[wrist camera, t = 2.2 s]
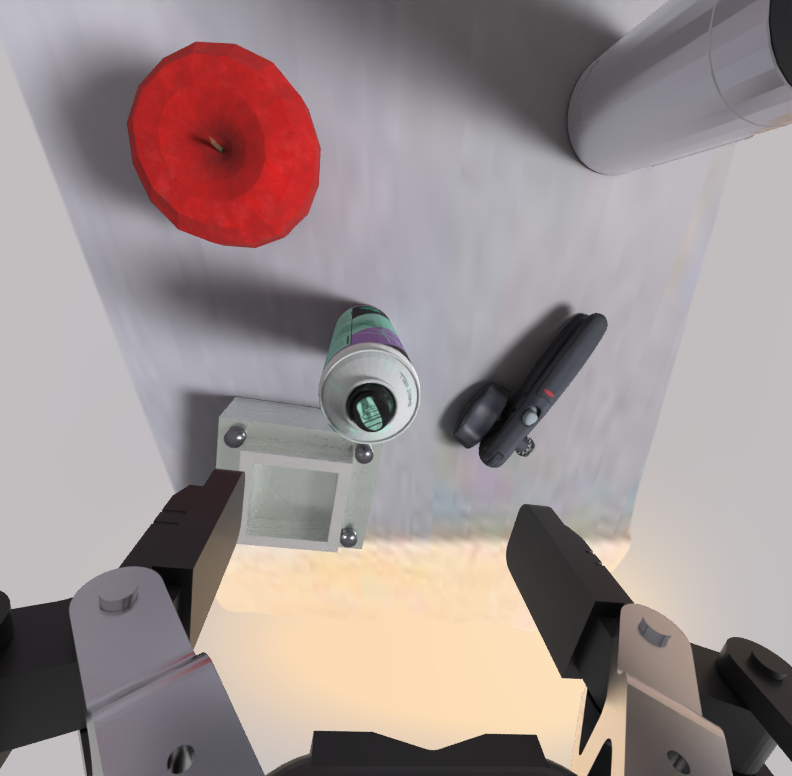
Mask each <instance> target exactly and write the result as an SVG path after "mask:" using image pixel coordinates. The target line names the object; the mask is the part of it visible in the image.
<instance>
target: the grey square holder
mask: <svg viewBox="0 0 792 776" xmlns="http://www.w3.org/2000/svg"><path fill="white" fill-rule="evenodd" d="M382 445H383V442H382V443H378V444H360V443H356V442H352V441H350V440H347V439H345V438H343V437H342V436H340V435H339V434H337V433H336V432H335V431H334V430H333V429H332V428H331V427H330V426H329V425H328V423H327V422H326V420H325V418H324V416H323V414H322V411H321V408H313V407H306V406H299V405H292V404H285V403H278V402H271V401H263V400H256V399H249V398H242V397H235V398H234V400H233V401H232V402H231V403H230V404H229V406H228V407H227V408H226V409H225V410H224V412H223V413H222V414H221V415H220V416H219V425H218V441H217V458H216V468H217V469H226V470H235V471H244V472H245V488H244V499H243V510H242V521H241V527H240V532H239V536H238V540H237V543H236V544H246V545H258V546H269V547H281V548H292V549H304V550H315V551H327V552H337V551H338V547H344V548H356V549H362V545H363V540H364V535H365V530H366V525H367V520H368V515H369V510H370V505H371V500H372V495H373V490H374V485H375V480H376V475H377V470H378V465H379V460H380V455H381V450H382Z"/></svg>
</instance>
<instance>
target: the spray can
mask: <svg viewBox="0 0 792 776" xmlns="http://www.w3.org/2000/svg"><path fill="white" fill-rule="evenodd" d="M318 394H319V401H320V408H321V411H322V414H323V416H324V418H325V420H326V422H327V423H328V425H329V426H330V427H331V428H332V429H333V430H334V431H335V432H336V433H337V434H339V435H340V436H342V437H343V438H345V439H347V440H350V441H352V442H356V443H360V444H378V443H382V442H386V441H389V440H391V439H393V438H395V437H397V436H398V435H400V434H401V433H403V432H404V431H405V430H406V429H407V428H408V427H409V426H410V425H411V423H412V422H413V420H414V418H415V417H416V414H417V412H418V409H419V405H420V399H421V398H420V383H419V379H418V376H417V373H416V371H415V369H414V367H413V365H412V363H411V361H410V359H409V358H408V356H407V354H406V352H405V350H404V348H403V346H402V344H401V342H400V340H399V338H398V336H397V334H396V332H395V330H394V328H393V326H392V324H391V322H390V320H389V318H388V317H387V316H386V315H385V314H384V313H383V312H382V311H381V310H379V309H377V308H376V307H373V306H370V305H357V306H354V307H351V308H349V309H348V310H346V311H345V312H344V313H343V314H342V315H341V316H340V317H339V319H338V321H337V323H336V326H335V329H334V333H333V336H332V340H331V343H330V347H329V351H328V354H327V358H326V361H325V365H324V369H323V372H322V376H321V379H320V383H319V393H318Z"/></svg>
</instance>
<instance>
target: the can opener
mask: <svg viewBox="0 0 792 776" xmlns="http://www.w3.org/2000/svg"><path fill="white" fill-rule="evenodd" d="M607 326H608V324H607V320H606V318H605V316H604V315H602V314H599V313H594V314H591V315H590V316H589V315H586V314H580V315H578V316H576V317H575V318H574V319H573V320H572V321H571V322H570V323H569V324H568V325H567V326H566V327H565V329H564V330H563V331H562V332H561V333H560V335H559V336H558V337H557V338H556V339H555V341H554V342H553V343H552V344H551V346H550V347H549V348H548V350H547V351H546V352H545V354H544V355H543V356H542V358H541V359H540V360H539V362H538V363H537V365H536V366H535V368H534V369H533V370H532V372H531V373H530V375H529V376H528V378H527V379H526V380H525V382H524V383H523V385H522V386H521V387H520V389H519V390H518V391H517V393H516V394H515V395H514V396H513V397H512V398H511V400H510V401H509V402H508V403H507V401H508V400H509V392H510V391H508V390H506V389H504V388H501V387H500V386H497V385H495V384H493V383H490V384H488V385H487V386H485V387H484V388H483V389H482V390H481V391H480V392H478V393H477V394H476V395H475V396H474V397H473V398H472V400H471V401H470V402H469V403H468V405H467V406H466V407H465V409H464V410H463V412H462V414H461V416H460V417H459V419H458V421H457V423H456V426H455V429H454V431H453V434H454V437H455V438H456V439H457V440H458V441H459V442H460V443H461V444H462V445H463V446H464V447H465V448H471V447H473V446H474V445H476V444H477V443H478V442H479V441H480V440H481V443H480V446H479V456H480V459H481V460H482V462H483V463H484V464H485V465H487V466H489V467H493V468H497V467H500V466H501V465H503V463H504V462H505V461H506V460H507V459H508V458H509V457H510V455H511V454H512V453H513V452H514V450H515V451H516V452H517V453H518V455H521V456H524V457H527V456H529V455H531V454H532V453H533V451H534V449H535V444H534V442H533V440H532V439H530V438H529V437H527V435H528V434H529V433H530V432H531V430H532V429H533V428H534V427H535V426H536V425H537V424H538V422H539V421H540V420H541V419H542V418H543V417H544V416H545V414H546V413H547V412H548V411H549V409H550V408H551V407H552V406H553V405H554V403H555V402H556V401H557V399H558V398H559V397H560V396H561V394H562V393H563V392H564V391H565V389H566V388H567V387H568V386H569V384H570V383H571V381H572V380H573V379H574V378H575V376H576V375H577V374H578V372H579V371H580V369H581V368H582V367H583V365H584V364H585V362H586V361H587V359H588V358H589V357H590V355H591V354H592V352H593V351H594V349H595V347H596V346H597V345H598V343H599V341H600V340H601V338H602V337H603V335H604V333H605V331H606V329H607Z"/></svg>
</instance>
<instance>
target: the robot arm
mask: <svg viewBox="0 0 792 776" xmlns="http://www.w3.org/2000/svg"><path fill="white" fill-rule="evenodd" d="M789 124H792V0H668V1H667V2H666V3H665V4H663V5H662V6H661V7H660V8H658V9H657V10H656V11H655V12H654V13H652V14H651V15H650V16H649V17H647V18H646V19H645V20H644V21H642V22H641V23H640V24H639V25H637V26H636V27H635V28H634V29H632V30H631V31H630V32H629V33H627V34H626V35H625V36H624V37H623V38H621V39H620V40H619V41H618V42H616V43H615V44H614V45H613V46H612V47H610V48H609V49H608V50H607V51H606V52H604V53H603V54H602V55H601V56H599V57H598V58H597V59H596V60H595V61H593V62H592V63H591V64H590V65H589V66H588V68H587V69H586V70H585V71H584V72H583V74H582V75H581V77H580V79H579V80H578V82H577V84H576V86H575V88H574V91H573V94H572V96H571V99H570V104H569V109H568V132H569V138H570V141H571V144H572V146H573V149H574V151H575V153H576V154H577V156H578V157H579V159H580V160H581V161H582V162H583V163H584V164H585V165H586V166H587V167H588V168H590V169H592V170H594V171H596V172H597V173H602V174H606V175H619V174H623V173H627V172H630V171H634V170H637V169H640V168H644V167H647V166H656V165H660V164H663V163H667V162H670V161H674V160H677V159H680V158H684V157H687V156H691V155H694V154H698V153H701V152H704V151H708V150H711V149H715V148H718V147H722V146H725V145H728V144H732V143H735V142H739V141H742V140H746V139H749V138H751V137H753V136H754V135H756V134H759V133H763V132H766V131H769V130H773V129H776V128H779V127H783V126H786V125H789ZM244 488H245V472H244V471H235V470H226V469H217V468H216V469H215V470H214V471H213V472H212V474H211V475H210V477H209V479H208V480H207V482H206V483H205V485H204V486H195V485H189V486H188V487H186V488H184V489H183V490H181V491H179V492H178V493H176V494H175V495H173V496H172V497H171V499H170V500H169V501H168V503H167V504H166V505H165V507H164V508H163V510H162V512H160V513H159V515H158V516H157V517H156V519H155V520H154V523H153V524H151V526H150V527H149V528H148V529H147V531H146V532H145V534H144V535H143V536H142V537H141V539H140V540H139V542H138V543H137V544H136V545H135V547H134V548H133V550H132V551H131V552H130V553H129V555H128V556H127V557H126V559H125V560H124V562H123V563H122V564H121V566H120V567H119V568H118V569H114V570H111V571H108V572H106V573H103V574H101V575H99V576H97V577H95V578H93V579H92V580H90V581H89V582H87V583H86V584H85V585H83V586H82V587H81V588H80V589H79V590H78V591H77V593H76V594H75V595H74V597H72V598H69V599H66V600H61V601H57V602H51V603H45V604H39V605H33V606H28V607H21V608H16V609H11V606H10V600H9V598H8V596H7V595H6V594H5V593H4V592H2V591H0V768H1V767H2V765H3V763H4V762H5V760H6V759H7V757H8V755H9V754H10V752H11V751H12V749H15V748H18V747H22V746H25V745H29V744H32V743H36V742H39V741H42V740H45V739H49V738H53V737H56V736H59V735H63V734H66V733H70V732H73V731H76V730H78V734H79V741H80V747H81V754H82V759H83V766H84V772H85V776H265V775H264V773H263V770H262V768H261V766H260V764H259V762H258V760H257V758H256V755H255V753H254V751H253V749H252V747H251V744H250V742H249V740H248V738H247V736H246V734H245V731H244V729H243V727H242V725H241V723H240V721H239V718H238V717H237V714H236V712H235V710H234V708H233V705H232V703H231V701H230V699H229V697H228V695H227V692H226V690H225V688H224V686H223V684H222V682H221V679H220V677H219V675H218V673H217V671H216V669H215V666H214V664H213V662H212V661H211V659H210V657H209V656H208V655H207V654H206V653H204V652H203V653H201V654H199V655H196V654H195V653H194V651H193V649H194V647H195V644H196V642H197V639H198V637H199V634H200V632H201V630H202V627H203V625H204V622H205V620H206V617H207V614H208V612H209V610H210V607H211V605H212V602H213V600H214V597H215V595H216V593H217V590H218V588H219V585H220V583H221V580H222V578H223V575H224V573H225V570H226V568H227V565H228V563H229V561H230V558H231V556H232V553H233V551H234V548H235V546H236V543H237V540H238V536H239V532H240V527H241V521H242V510H243V499H244ZM506 560H507V565H508V568H509V571H510V573H511V575H512V577H513V579H514V581H515V583H516V585H517V587H518V589H519V591H520V593H521V595H522V597H523V599H524V601H525V603H526V605H527V607H528V609H529V612H530V614H531V616H532V618H533V620H534V622H535V624H536V626H537V628H538V630H539V632H540V634H541V636H542V638H543V640H544V642H545V644H546V646H547V648H548V650H549V652H550V654H551V656H552V658H553V661H554V663H555V665H556V667H557V669H558V671H559V673H560V675H561V677H562V678H572V679H583V681H584V682H585V684H586V687H585V689H584V692H583V693H582V696H581V702H580V708H579V716H578V723H577V729H576V735H575V742H574V750H573V755H572V763H571V768H570V770H569V769H567V768H565V767H563V766H562V765H560V764H557V763H555V762H553V761H551V760H549V759H546V758H545V756H544V754H543V751H542V748H541V745H540V743H539V740H538V738H537V735H519V734H484V735H481V736H478V737H475V738H472V739H469V740H466V741H463V742H460V743H457V744H454V745H451V746H448V747H445V748H442V749H439V750H427V749H424V748H420V747H417V746H415V745H411V744H408V743H405V742H402V741H399V740H396V739H393V738H390V737H386V736H383V735H380V734H377V733H374V732H346V731H314V733H313V739H312V745H311V750H310V754H307V755H304V756H301V757H298V758H296V759H293V760H291V761H289V762H287V763H285V764H283V765H281V766H279V767H278V768H276V769H275V770H273V771H271V772H270V773H268V774H267V775H266V776H774V775H773V774H772V773H771V772H770V770H769V769H768V768H767V766H766V765H765V764H764V763H765V761H766V760H767V758H768V757H769V756H770V754H771V753H772V751H773V750H774V749H775V747H776V746H777V744H778V745H779V747H780V748H781V749H782V750H783V752H784V753H785V754H786V755H787V757H788V758H789V759H790V760H791V761H792V667H791V666H790V665H789V664H788V663H787V662H786V661H784V660H783V659H782V658H780V657H779V656H778V655H776V654H774V653H773V652H772V651H770V650H768V649H767V648H765V647H763V646H761V645H759V644H757V643H755V642H753V641H750V640H747V639H744V638H739V637H732V638H729V639H728V640H727V642H726V644H725V645H724V647H723V649H722V650H721V652H720V653H719V652H716V651H713V650H710V649H707V648H704V647H701V646H698V645H695V644H692V643H690V642H689V640H688V639H687V637H686V636H685V634H684V633H683V632H682V631H681V630H680V629H679V628H678V627H677V626H676V625H675V624H674V623H673V622H672V621H671V620H669V619H668V618H666V617H665V616H664V615H662V614H660V613H659V612H657V611H655V610H653V609H651V608H649V607H646V606H643V605H639V604H634V602H633V601H632V600H631V599H630V597H629V596H628V595H627V594H626V593H625V591H624V590H623V589H622V587H621V586H620V585H619V584H618V583H617V581H616V580H615V579H614V578H613V576H612V575H611V574H610V572H609V571H608V570H607V569H606V567H605V566H602V562H601V561H600V560H599V559H598V557H597V556H596V555H595V554H593V551H592V550H591V549H590V547H589V546H588V545H587V544H586V542H585V541H584V540H583V539H582V538H581V537H580V536H579V535H578V534H576V533H575V532H574V531H572V530H571V529H570V528H569V527H567V526H566V525H564V524H563V522H562V521H561V520H560V519H559V517H558V516H557V515H556V513H555V512H554V511H553V510H552V508H550V507H547V506H539V505H530V504H524V505H522V506H521V508H520V510H519V512H518V515H517V518H516V521H515V524H514V527H513V530H512V533H511V536H510V539H509V542H508V545H507V550H506Z"/></svg>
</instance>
